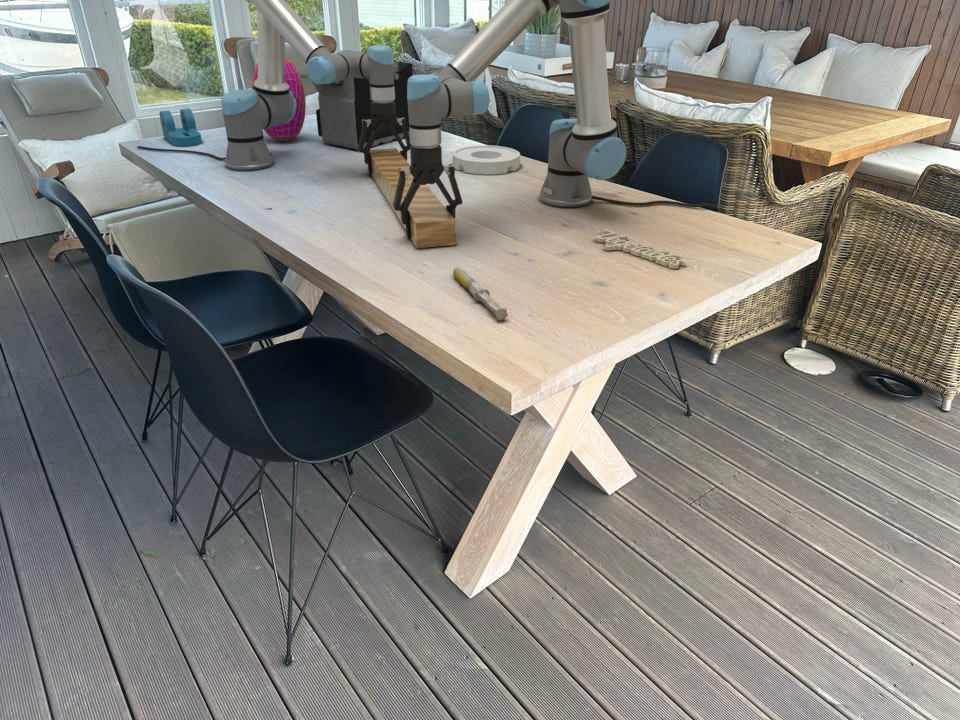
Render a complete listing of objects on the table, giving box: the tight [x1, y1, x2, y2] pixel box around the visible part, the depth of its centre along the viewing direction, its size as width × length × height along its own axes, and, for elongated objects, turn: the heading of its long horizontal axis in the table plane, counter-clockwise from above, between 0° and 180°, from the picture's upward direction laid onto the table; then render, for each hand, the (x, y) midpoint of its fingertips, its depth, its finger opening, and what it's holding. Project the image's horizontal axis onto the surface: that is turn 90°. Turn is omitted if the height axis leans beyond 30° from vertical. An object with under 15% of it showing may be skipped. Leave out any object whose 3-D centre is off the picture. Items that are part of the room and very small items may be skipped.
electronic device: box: [311, 60, 414, 151], centre depth 260 cm, size 37×22×30 cm, turn 144°
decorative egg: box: [251, 57, 307, 142], centre depth 257 cm, size 19×19×30 cm
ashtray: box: [451, 144, 521, 176], centre depth 235 cm, size 23×23×4 cm
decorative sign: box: [595, 229, 686, 270], centre depth 168 cm, size 26×1×10 cm
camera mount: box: [159, 108, 203, 147], centre depth 259 cm, size 18×10×10 cm, turn 35°
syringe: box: [452, 266, 509, 321], centre depth 145 cm, size 25×4×3 cm, turn 21°
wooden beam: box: [369, 147, 457, 249], centre depth 198 cm, size 74×10×6 cm, turn 17°
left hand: (386, 172), depth 224 cm, fingers closed on wooden beam, 10 cm apart
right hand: (429, 233), depth 175 cm, fingers closed on wooden beam, 10 cm apart
